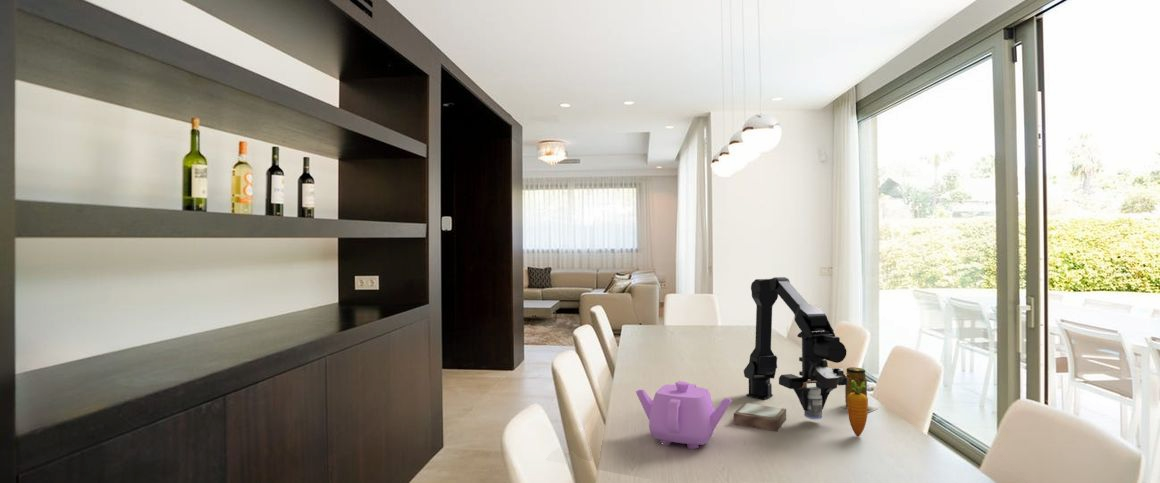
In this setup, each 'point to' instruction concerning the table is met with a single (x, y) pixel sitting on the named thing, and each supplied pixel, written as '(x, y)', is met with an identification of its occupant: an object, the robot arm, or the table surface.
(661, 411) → the teapot
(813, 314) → the robot arm
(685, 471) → the table surface
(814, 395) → the pill bottle
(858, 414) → the carrot
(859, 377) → the condiment
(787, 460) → the table surface
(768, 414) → the pedestal
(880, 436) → the table surface
